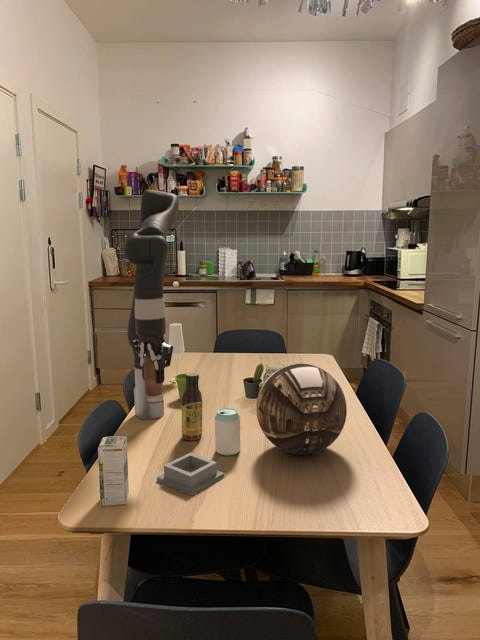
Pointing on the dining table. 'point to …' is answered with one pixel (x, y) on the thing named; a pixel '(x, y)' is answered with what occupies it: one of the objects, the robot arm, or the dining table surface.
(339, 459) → the dining table surface
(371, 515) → the dining table surface
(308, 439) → the sphere
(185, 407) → the sauce bottle
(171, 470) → the holder
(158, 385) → the handle
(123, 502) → the syrup box
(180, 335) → the champagne flute
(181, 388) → the plant pot
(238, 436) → the can
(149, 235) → the robot arm
